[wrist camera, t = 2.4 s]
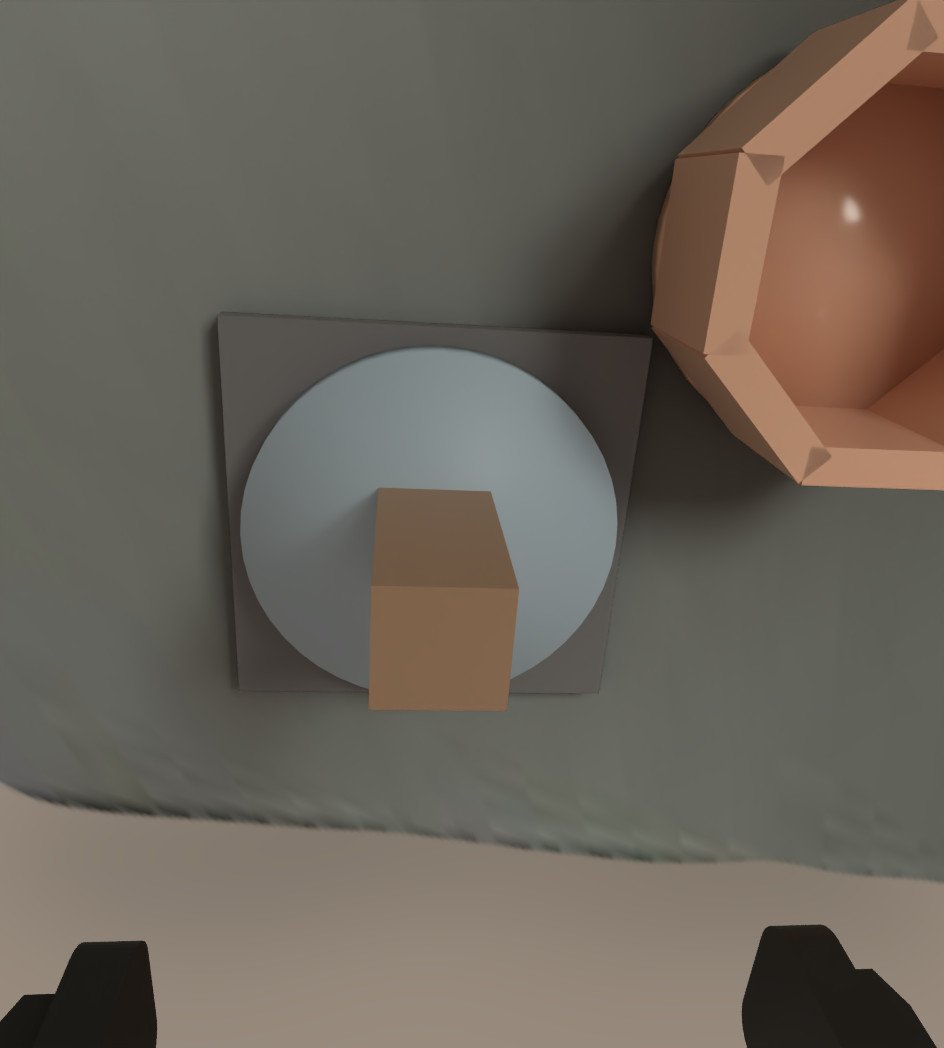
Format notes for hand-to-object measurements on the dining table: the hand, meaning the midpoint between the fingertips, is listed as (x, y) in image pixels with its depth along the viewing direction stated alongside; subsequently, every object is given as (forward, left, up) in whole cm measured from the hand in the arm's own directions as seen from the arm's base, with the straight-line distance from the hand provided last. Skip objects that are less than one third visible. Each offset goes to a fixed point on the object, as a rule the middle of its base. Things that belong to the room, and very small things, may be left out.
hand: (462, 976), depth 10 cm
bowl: (-11, -8, -16) cm, 21 cm away
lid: (0, 0, -15) cm, 15 cm away
